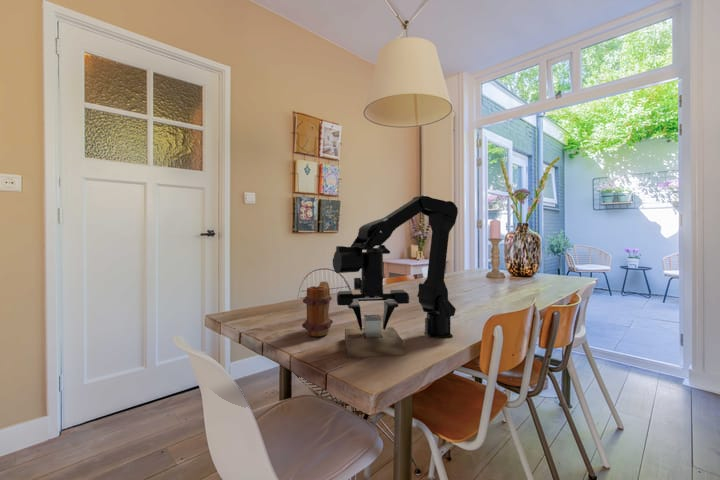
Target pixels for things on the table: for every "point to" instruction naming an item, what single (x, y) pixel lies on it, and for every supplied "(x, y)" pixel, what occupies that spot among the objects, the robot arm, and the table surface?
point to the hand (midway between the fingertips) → (372, 329)
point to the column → (372, 326)
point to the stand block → (373, 343)
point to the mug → (318, 310)
